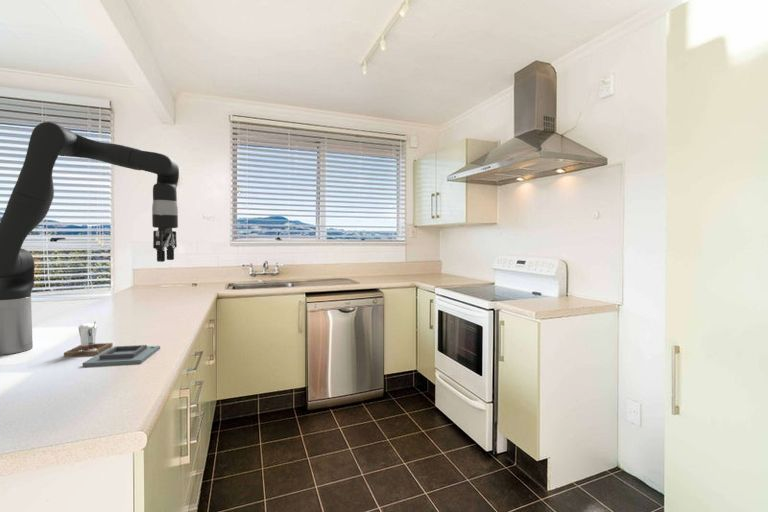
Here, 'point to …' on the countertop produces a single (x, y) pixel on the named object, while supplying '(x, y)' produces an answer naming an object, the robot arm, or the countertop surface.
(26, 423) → the countertop surface
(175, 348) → the countertop surface
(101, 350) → the square wooden frame
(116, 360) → the port plate
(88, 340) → the milkshake
